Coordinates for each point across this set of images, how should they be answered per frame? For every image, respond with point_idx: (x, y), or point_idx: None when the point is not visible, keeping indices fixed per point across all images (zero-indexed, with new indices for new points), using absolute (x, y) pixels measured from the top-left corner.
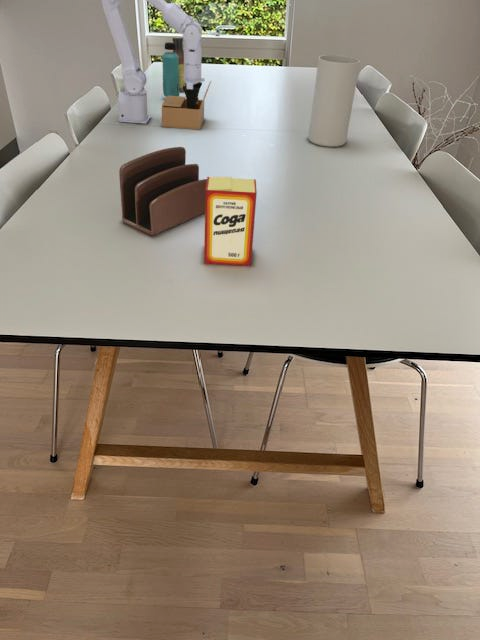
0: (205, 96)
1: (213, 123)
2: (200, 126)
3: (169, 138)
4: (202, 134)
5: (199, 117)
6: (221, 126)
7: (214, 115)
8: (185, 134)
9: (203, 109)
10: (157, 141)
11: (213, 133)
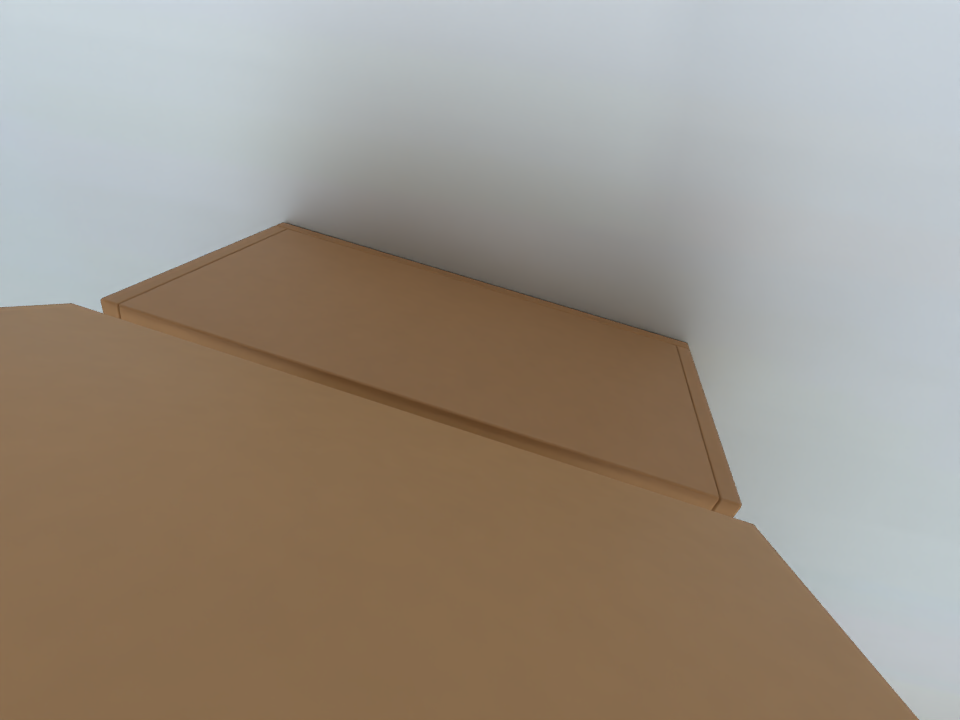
0: (156, 368)
1: (436, 126)
2: (634, 334)
3: (896, 629)
4: (891, 351)
5: (710, 430)
6: (578, 13)
7: (98, 56)
8: (821, 502)
9: (281, 287)
10: (941, 704)
11: (904, 203)
